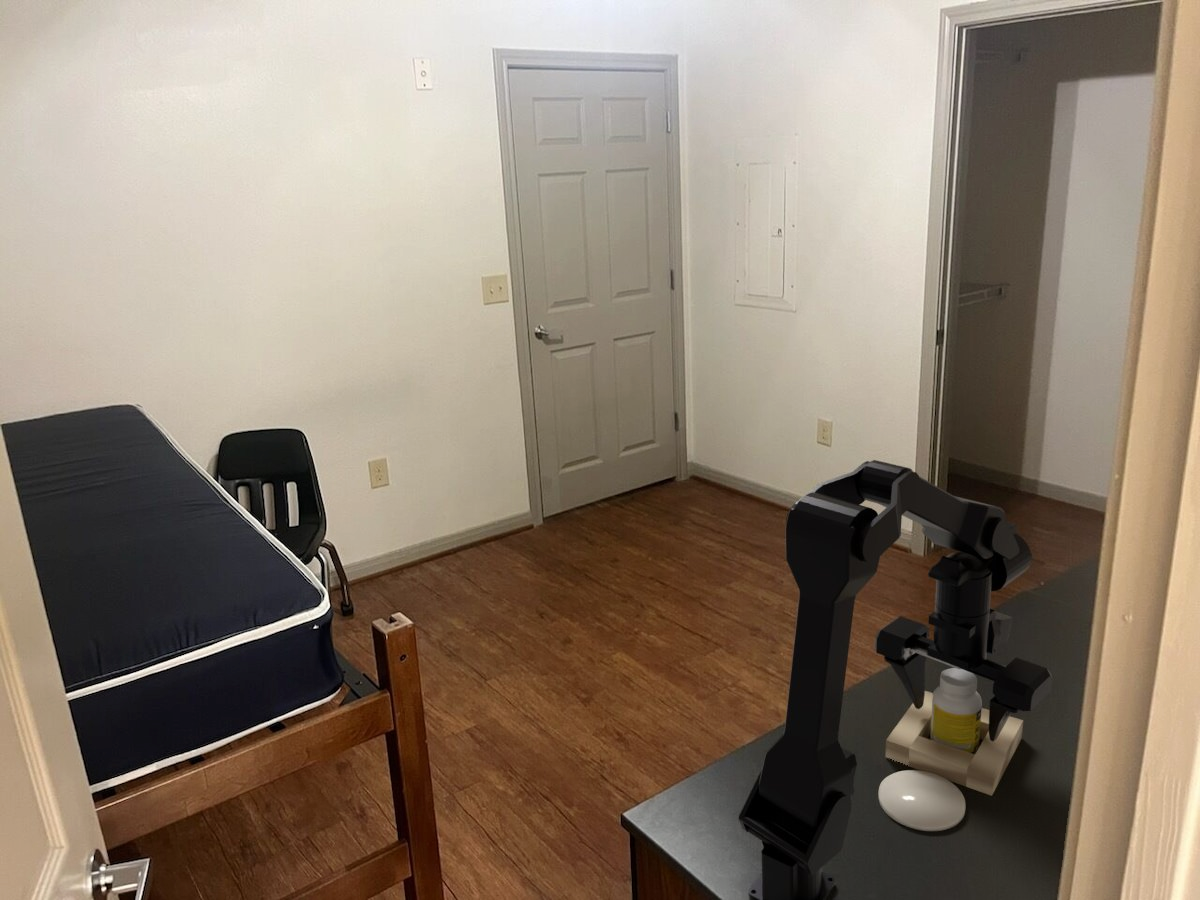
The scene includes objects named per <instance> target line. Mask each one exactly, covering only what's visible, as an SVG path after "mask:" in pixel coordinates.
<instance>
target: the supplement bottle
mask: <svg viewBox="0 0 1200 900" xmlns="http://www.w3.org/2000/svg"><path fill="white" fill-rule="evenodd" d="M977 688H978V678H977V675H976V674H974V673H971V672H968V671H966V670H963V669H957V668H954V667H951V668H946V669H944V670H942V671H941V673H940V677H939V685H938V686H937V687H936V688H935V689H934V691H933V692H932V693H933V698H932V717H931V733H930V735H929V736H930V737H929V739H930V740H933V741H936V742H939V743H942V744H945V745H948V746H951V747H954V748H957V749H960V750H963V751H966V752H969V753H972V754H976V752H977V750H978V749H979V747H980V739H979V736H980V723H981V710H982V708H983V701H982V697H981V695H980V693H978V691H977Z"/></svg>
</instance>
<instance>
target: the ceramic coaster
mask: <svg viewBox="0 0 1200 900" xmlns="http://www.w3.org/2000/svg"><path fill="white" fill-rule="evenodd" d="M878 787H879V788H878V802H879V805H880V807H881V808H882V810H883V811H884V813H885V814H886V815H887V816H888V817H890V818H891V819H892V820H894V822H897V823H898V824H900V825H903V826H904V827H907V828H910V829H914V830H918V831H924V832H940V831H945V830H948V829H952V828H954V827H955V826H957V825H958V824H959V823H961V821H962V820H963V819H964V816H965V815H966V799H965V797H964V795H963V793H962V791H961V790H960V789H959V788H958V786H956V785H955V783H954V782H952V781H949V780H947V779H945V778H943V777H941V776H939V775H936V774H933V773H930V772H925V771H921V770H918V769H911V770H910V769H909V770H908V769H907V770H901V771H897V772H894V773H892V774H890V775H888V776H886V777H885V778H884V779H883V780H882V781H881V783H880V785H879V786H878Z"/></svg>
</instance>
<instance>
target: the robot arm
mask: <svg viewBox="0 0 1200 900" xmlns="http://www.w3.org/2000/svg"><path fill="white" fill-rule="evenodd" d="M865 501H868V502H871V503H876V504H878V505H880V506H882V507H885V508H884V509H883V510H882V511H881V512H880V513H879V514H878V512H877V510H875V509H873V508H872V507H870V506H869V507H868V506H865V505H862V504H863V503H864V502H865ZM902 517H905V518H907V519H909V520H911V521H913V522H915V523H917V524H920V525H921V527H922V528H921V532H922V534H923V535H924V536H925V537H926V538H927V539H928V540H929V541H931V543H933V544H934V545H937V546H941V547H944V548H948V549H951V550H954V551H957V552H952V553H950V554H948V555H942V556H941V557H940V559H939V560H938V561H937V563H936V564H933V565H932V566H931V567H930V569H929V571H928V572H927V573H928V574H927V576H928V578H930V579H933V580H935V581H936V582H935V584H936V585H935V602H934V611H933V612H932V613H930V615H928V624H929V625H932V626H933V639H930V638H929V636H930V628H929V627H928V625H926V624H923V623H921V622H918V621H916V620H912V619H910V618H907V617H905V616H902V615H900V616H898V617H897V618H895V619H893V620H892V621H891V622H889V623H888V624H886V625H885V626H884V627H882V628H881V629H880V630H878V631H877V632H876V635H875V637H874V650H875V653H876V654H879V655H881V656H883V658H884V661H885V662H886V663H887V664H889V665H890V666H891V667H892V669H893V671H894V672H895V674H896V676H897V677H898V678H899V680H900V681H901V683H902V685H903V687H904V689H905V690H906V693H907V694H908V696H909V697H910V700H911V702H912V704H914V706H915V708H917V709H920V708H921V707H922V706H923V703H924V696H925V691H926V690H925V689H926V687H925V685H926V661H927V658H928V659H931V660H933V661H936V662H938V663H942V664H944V665H947V666H949V667H951V668H957V669H963V670H966V671H968V672H971V673H973V674H974V675H975V676H979V677H981V678H984V679H987V680H989V681H992V682H993V684H992V694H993V695H994V696H993V697H992V698H991V699H990V700H989V705H988V706H989V707H988V708H989V709H988V710H989V737H990V740H991V741H995V740H996V739H997V737H998V736H999V734H1000V732H1001V730H1002V728H1003V727H1004V725H1005V723H1006V721H1007V719H1008V718H1009V716H1010V717H1011V714H1018V713H1019V712H1031V711H1032V710H1034V708H1035V707H1036V706H1037V705H1038V704H1039V703H1040V702H1041V701H1042V700H1043V699H1044V698H1046V696H1047V695H1049V693H1050V692H1051V691H1052V689H1053V688H1052V686H1053V685H1052V684H1053V675H1052V674H1051V672H1050V670H1048V667H1044V666H1041V665H1039V664H1035V663H1034V662H1033V663H1032V662H1030V661H1029V660H1025V659H1022V658H1019V657H1016V656H1015V657H1014V659H1013V660H1012V661H1010V662H1009V663H1008V664H1007V665H1003V664H1001V663H999V662H996V661H993V660H990V659H989V658H987V655H988V654H989V655H994V654H995V653H996V652H997V651H998V647H999V645H998V644H1004V645H1005V644H1006V645H1007V644H1008V641H1009V637H1010V632H1011V628H1012V624H1013V620H1014V617H1013V616H1011V615H1007V614H1004V613H1001V612H998V611H996V610H995V609H992V608H991V596H992V592H997V591H999V590H1002V589H1003V588H1005V587H1006V586H1007V585H1008V584H1009V583H1011V582H1013V581H1014V580H1016V579H1017V578H1018V577H1019V576H1021V575H1022V574H1024V573H1025V572H1026V571H1027V570H1029V568H1030V567H1031V564H1032V561H1033V553H1032V552H1031V549H1030V547H1029V545H1028V543H1027V542H1026V540H1025V539H1024V538H1023V537H1022V536H1021V535H1020V534H1018V525H1017V524H1016V523H1015V524H1014V523H1011V522H1009V521H1007V519H1006V517H1007V516H1006V513H1005V511H1004V510H1003V508H1002V507H999V506H995V505H993V504H987V503H983V502H981V501H976V500H972V499H967V498H963V497H959V496H955V495H953V494H951V493H949V492H948V491H946V490H945V489H942V488H941V487H939V486H937V485H935V484H933V483H932V482H930V481H928V480H926V479H924V478H923V477H921V476H920V475H919V474H918V473H917V472H916V471H914V470H912V468H910V467H906V466H902V465H897V464H893V463H889V462H885V461H880V460H876V459H873V460H871V461H870V460H866V461H865V462H863V463H861V464H860V465H859V466H858V467H856V468H855V469H854V470H853V471H851V472H849V473H846V474H842V475H839V476H837V477H833V478H831V479H827V480H825V481H822V482H820V483H818V484H817V485H815V486H814V487H813V488H812V489H810V490H809V491H808V492H807V493H806V494H804V495H803V496H802V497H801V498H799V499H798V500H796V502H795V503H793V505H792V506H791V507H790V508H789V510H788V513H787V515H786V519H785V530H784V531H785V561H786V563H787V565H788V567H789V570H790V572H791V574H792V576H793V579H794V581H795V583H796V585H797V588H798V603H797V612H796V613H797V614H796V619H795V621H796V622H795V630H794V631H795V632H794V638H793V639H794V640H793V648H792V649H793V650H792V657H791V668H790V677H789V685H788V695H787V703H786V712H785V713H786V714H785V715H786V716H785V723H784V729H783V733H782V735H781V736H780V737H778V739H776V741H775V742H774V743H773V744H772V745H771V746H770V747H769V749H768V750H767V751H765V755H764V758H763V763H762V768H761V770H760V772H759V774H758V776H757V779H756V780H755V782H754V784H753V786H752V789H751V790H750V793H749V794H748V797H747V799H746V801H745V802H744V804H743V807H742V808H741V811H740V813H739V815H738V822H739V824H740V826H741V828H742V830H743V831H745V832H746V833H750V834H751V835H753V836H754V837H755V838H757V839H759V840H760V841H761V852H760V853H761V855H760V856H761V858H760V859H761V861H760V863H761V873H760V875H759V876H758V877H757V878H756V880H755V881H754V882H753V883H752V885H751V887H750V888H749V889H748V892H747V893H748V897H749V898H750V899H751V900H827V898H828V897H829V895H830V893H831V892H832V890H833V889H834V887H835V886H836V878H835V877H834V876H832V875H830V874H829V873H825V872H823V867H824V866H825V865H827V864H828V862H830V861H831V860H832V859H834V857H836V856H837V855H838V853H840V852H841V851H842V849H843V845H844V841H845V838H846V834H847V829H848V823H849V820H850V815H851V810H852V799H851V798H852V797H851V796H852V795H853V796H854V794H855V787H854V781H855V774H856V771H857V765H858V761H857V757H856V755H855V754H854V753H853V752H851V751H849V750H848V749H845V748H843V747H842V745H841V744H840V741H839V732H840V731H839V730H840V723H841V715H842V708H843V707H842V706H843V698H844V689H845V681H846V676H847V675H846V673H847V666H848V658H849V657H848V656H849V649H850V642H851V635H852V634H851V633H852V623H853V617H854V616H853V615H854V609H855V601H856V596H857V595H858V594H859V593H860V591H861V590H863V589H864V588H865V586H866V585H867V584H868V582H869V581H871V580H872V578H874V576H875V575H876V574H877V571H878V567H879V563H880V558H881V556H882V555H883V554H884V553H885V552H887V550H888V549H889V548H890V547H892V546H893V544H895V542H897V541H898V540H899V539H900V538H901V535H902V519H903V518H902Z"/></svg>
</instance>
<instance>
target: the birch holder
mask: <svg viewBox="0 0 1200 900" xmlns="http://www.w3.org/2000/svg"><path fill="white" fill-rule="evenodd" d="M933 693H934V692H931V691H927V690H925V696H924V703H923V706H922V707H921V708H920V709H917V708H915V706H914V704H913V703H912V704H911V705H910V707H908V709H907V711H906V712H905V713H904V715H903V716H902V718H901V719H900V720H899V721H898V723H897V725H896V726H895V727H894V728H893V730H892V731H891V732H890V734H889V735H888V737H887V738H886V740H885V758H886V757H887V758H890V759H892V760H891V761H893V760H894V761H893V762H896V761H897V762H896V763H898V762H900V763H899V764H901V763H903V764H902V765H904V764H905V766H907V765H908V766H907V767H910V768H913V769H914V770H918V771H925V772H930V773H933V774H936V775H939V776H941V777H943V778H945V779H947V780H948V781H950V782H951V783H953V784H957V785H961V786H964V787H965V788H969V789H972V790H974V791H977V792H980V793H983V794H986V795H988V796H991V797H992V796H993V794H994V793H995V791H996V789H997V787H998V785H999V783H1000V781H1001V779H1002V777H1003V775H1004V773H1005V772H1006V769H1007V768H1008V766H1009V763H1010V761H1011V759H1012V758H1013V756H1014V754H1015V752H1016V750H1017V748H1018V746H1019V744H1020V743H1021V740H1022V738H1023V727H1024V720H1023V719H1020V718H1017V717H1014V716H1011V715H1010V716H1009V718H1008V719H1007V721H1006V723H1005V725H1004V727H1003V728H1002V730H1001V732H1000V734H999V736H998V737H997V739H996V740H995V741H991V740H990V737H989V709H987V708H983V707H982V710H981V723H980V736H979V740H982V742H981V744H979V748H978V750H977V752H976V754H972V753H969V752H966V751H963V750H960V749H957V748H954V747H951V746H948V745H945V744H942V743H939V742H936V741H933V740H930V738H929V736H930V733H931V717H932V698H933ZM887 758H886V759H887ZM890 759H889V760H890Z"/></svg>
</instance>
